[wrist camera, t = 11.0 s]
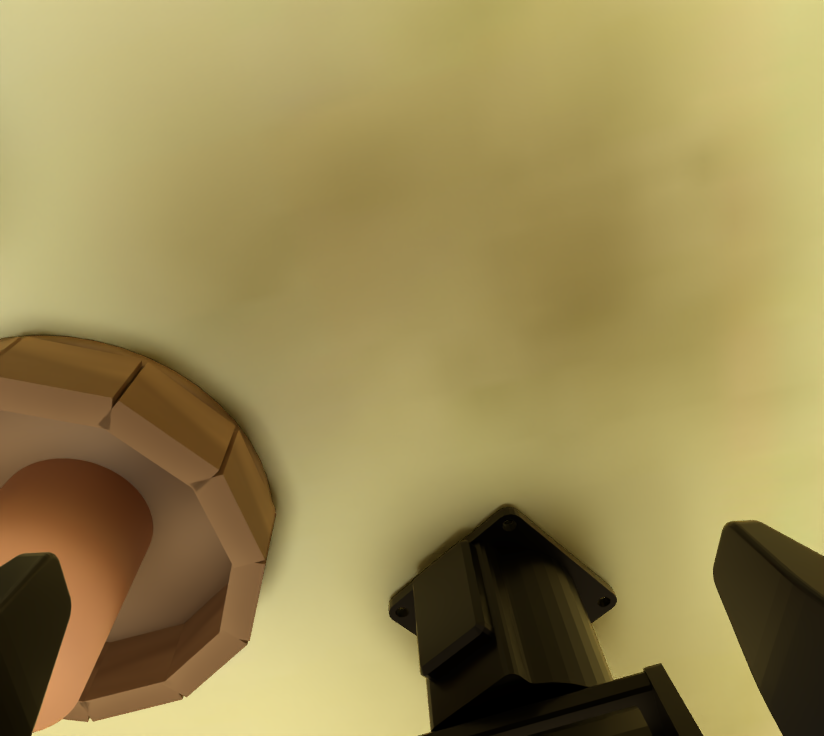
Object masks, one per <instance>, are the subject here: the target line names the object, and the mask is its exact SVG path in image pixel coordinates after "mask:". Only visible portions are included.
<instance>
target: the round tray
mask: <svg viewBox="0 0 824 736" xmlns="http://www.w3.org/2000/svg"><path fill="white" fill-rule="evenodd" d="M58 458H67V459H78V460H83V461H88V462H92V463H95V464H98V465H101V466H103V467H105V468H107V469H110V470H112V471H113V472H115V473H117V474H119V475H120V476H122V477H123V478H124V479H126V480H127V481H128V482H129V483H131V484H132V485H133V486H134V487H135V488H136V489H137V490H138V492H139V493H140V494H141V495H142V497H143V498H144V500H145V501H146V503H147V505H148V507H149V509H150V512H151V516H152V520H153V535H152V540H151V543H150V545H149V548H148V550H147V552H146V554H145V556H144V559H143V561H142V563H141V565H140V567H139V570H138V572H137V574H136V576H135V578H134V580H133V583H132V585H131V587H130V589H129V591H128V594H127V596H126V598H125V600H124V602H123V605H122V607H121V609H120V611H119V613H118V615H117V618H116V620H115V622H114V624H113V626H112V629H111V631H110V633H109V635H108V637H107V640H106V642H105V644H104V646H103V648H102V650H101V653H100V655H99V657H98V659H97V661H96V664H95V666H94V668H93V670H92V672H91V675H90V677H89V679H88V681H87V683H86V685H85V688H84V690H83V692H82V694H81V696H80V699H79V701H78V702H77V704H76V705H75V707H74V708H73V709H72V711H71V712H70V713H69V714H68V715H67V716H65V717H64V718H63V719H66V720H76V721H85V722H88V720H89V718H91V719H92V721H97V720H101V719H105V718H109V717H113V716H117V715H121V714H125V713H129V712H133V711H137V710H141V709H146V708H150V707H154V706H158V705H162V704H166V703H170V702H174V701H178V700H182V699H183V696H185V697H187V696H189V695H190V694H191V693H192V692H193V691H194V690H196V689H197V688H198V687H199V686H200V685H201V684H202V683H204V682H205V681H206V680H207V679H208V678H209V677H210V676H212V675H213V674H214V673H215V672H216V671H217V670H219V669H220V668H221V667H222V666H223V665H224V664H225V663H227V662H228V661H229V660H230V659H231V658H232V657H233V656H235V655H236V654H237V653H238V652H239V651H240V650H242V649H243V648H244V647H245V646H246V645H247V644H248V641H250V636H251V631H252V627H253V622H254V617H255V612H256V608H257V603H258V598H259V593H260V588H261V584H262V579H263V574H264V569H265V565H266V560H267V555H268V550H269V545H270V541H271V536H272V531H273V526H274V521H275V517H276V513H275V510H276V509H275V507H274V505H273V503H272V498H271V493H270V488H269V483H268V479H267V477H266V474H265V471H264V469H263V466H262V463H261V461H260V459H259V457H258V455H257V453H256V451H255V450H254V448H253V446H252V444H251V442H250V441H249V439H248V438H247V436H246V435H245V434H244V432H243V431H242V430H241V428H240V427H239V426H238V424H237V423H236V421H235V420H234V419H233V418H232V417H231V416H230V415H229V414H228V413H227V412H226V411H225V410H224V409H223V408H222V407H221V406H220V405H219V404H218V403H217V402H216V401H215V400H214V399H213V398H211V397H210V396H209V395H208V394H207V393H205V392H204V391H203V390H202V389H200V388H199V387H198V386H197V385H195V384H194V383H192V382H191V381H189V380H188V379H186V378H184V377H183V376H181V375H180V374H178V373H177V372H175V371H174V370H172V369H170V368H168V367H166V366H164V365H162V364H160V363H158V362H156V361H154V360H152V359H150V358H148V357H145V356H142V355H140V354H137V353H134V352H132V351H129V350H126V349H124V348H121V347H117V346H113V345H109V344H105V343H101V342H97V341H94V340H87V339H80V338H73V337H66V336H43V335H32V336H21V337H9V338H3V339H0V489H1V488H2V487H3V485H4V484H5V483H6V482H7V481H8V480H9V479H10V478H11V477H12V476H13V475H14V474H15V473H16V472H18V471H19V470H21V469H22V468H24V467H26V466H28V465H30V464H33V463H36V462H39V461H43V460H48V459H58Z"/></svg>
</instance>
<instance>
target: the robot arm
mask: <svg viewBox="0 0 824 736" xmlns="http://www.w3.org/2000/svg"><path fill="white" fill-rule="evenodd" d="M507 520H513V522H512V523H510V524H504V522H505V521H507ZM713 577H714V582H715V585H716V588H717V590H718V593H719V595H720V598H721V600H722V603H723V605H724V607H725V610H726V612H727V615H728V617H729V620H730V622H731V624H732V627H733V629H734V632H735V634H736V637H737V639H738V641H739V644H740V646H741V649H742V651H743V654H744V656H745V658H746V661H747V663H748V666H749V668H750V671H751V673H752V675H753V677H754V680H755V682H756V684H757V686H758V689H759V691H760V693H761V695H762V697H763V699H764V701H765V703H766V705H767V707H768V709H769V710H770V712H771V714H772V716H773V718H774V720H775V722H776V724H777V725H778V727H779V729H780V731H781V733H782V735H783V736H824V556H822V555H820V554H819V553H817V552H815V551H813V550H811V549H809V548H808V547H806V546H804V545H802V544H800V543H798V542H797V541H795V540H793V539H791V538H789V537H787V536H786V535H784V534H782V533H780V532H778V531H776V530H774V529H773V528H771V527H769V526H767V525H765V524H763V523H762V522H759V521H755V520H747V521H731V522H728V523H727V524H726V525H725V526H724V527H723V530H722V533H721V537H720V541H719V546H718V550H717V554H716V558H715V562H714V567H713ZM602 597H605V598H603V599H600V598H602ZM616 602H617V598H616V595H615V593H614V591H613V589H612V588H611V587H610V586H609V585H608V584H607V583H605V582H604V581H603V580H602V579H601V578H599V577H598V576H597V575H596V574H594V573H593V572H592V571H591V570H590V569H588V568H587V567H586V566H585V565H584V564H582V563H581V562H580V561H579V560H578V559H576V558H575V557H574V556H573V555H571V554H570V553H569V552H568V551H567V550H565V549H564V548H563V547H562V546H561V545H559V544H558V543H557V542H556V541H554V540H553V539H552V538H551V537H550V536H548V535H547V534H546V533H545V532H544V531H542V530H541V529H540V528H539V527H538V526H536V525H535V524H534V523H533V522H531V521H530V520H529V519H528V518H527V517H525V516H524V515H523V514H522V513H521V512H519V511H518V510H517V509H515V508H511V507H506V508H502V509H501V510H499V511H497V512H496V513H495V514H494V515H493V516H491V517H490V518H489V519H488V520H486V521H485V522H484V523H483V524H482V525H480V526H479V527H478V528H477V529H476V530H474V531H473V532H472V533H471V534H469V535H468V536H467V537H466V538H465V539H463V540H462V541H460V542H458V543H457V544H456V545H454V546H453V547H452V548H451V549H449V550H448V551H447V552H446V553H445V554H443V555H442V556H441V557H440V558H439V559H437V560H436V561H435V562H434V563H432V564H431V565H430V566H429V567H428V568H426V569H425V570H424V571H423V572H421V573H420V574H419V575H418V576H417V577H415V578H414V580H413V581H412V582H411V583H410V584H409V585H407V586H406V587H405V588H404V589H403V590H401V591H400V592H399V593H398V594H396V595H395V596H394V597H393V598H392V599H391V600H390V601H389V615H390V617H391V618H392V619H393V620H394V621H395V622H397V623H398V624H400V625H401V626H403V627H404V628H406V629H407V630H409V631H410V632H412V633H413V634H415V635H416V636H417V642H418V654H419V666H420V673H421V675H422V676H424V677H425V678H426V685H427V696H428V706H429V717H430V728H431V732H429V733H426V734H422V735H419V736H703V734H702V733H701V731H700V729H699V727H698V726H697V724H696V722H695V721H694V719H693V717H692V715H691V714H690V712H689V710H688V709H687V707H686V705H685V703H684V702H683V700H682V698H681V697H680V695H679V693H678V691H677V690H676V688H675V686H674V685H673V683H672V681H671V679H670V678H669V676H668V674H667V673H666V671H665V669H664V667H663V666H662V664H661V663H660V664H656V665H653V666H649V667H646V668H643V670H644V672H641V673H637V674H634V675H630V676H626V677H623V678H619V679H616V680H613V678H612V675H611V673H610V670H609V668H608V665H607V663H606V660H605V658H604V655H603V653H602V650H601V647H600V645H599V642H598V640H597V637H596V635H595V632H594V630H593V627H592V625H591V623H592V622H594V621H595V620H597V619H598V618H599V617H601V616H602V615H603V614H605V613H606V612H608V611H609V610H610V609H612V608H613V607H614V606H615V604H616ZM71 606H72V605H71V597H70V594H69V590H68V587H67V584H66V581H65V577H64V574H63V571H62V568H61V564H60V561H59V559H58V557H57V556H56V555H55V554H53V553H50V552H40V553H24V554H20V555H18V556H16V557H14V558H13V559H11V560H10V561H8V562H7V563H5V564H3V565H2V566H0V736H31V735H32V732H33V729H34V727H35V724H36V721H37V718H38V715H39V712H40V709H41V706H42V703H43V700H44V697H45V694H46V691H47V688H48V684H49V681H50V678H51V675H52V672H53V669H54V666H55V663H56V660H57V657H58V653H59V650H60V647H61V644H62V641H63V638H64V635H65V632H66V629H67V625H68V622H69V619H70V615H71ZM402 607H404V608H405V609H398V608H402Z"/></svg>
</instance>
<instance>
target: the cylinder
mask: <svg viewBox="0 0 824 736" xmlns="http://www.w3.org/2000/svg"><path fill="white" fill-rule="evenodd" d="M152 535H153V520H152V516H151V512H150V509H149V507H148V505H147V503H146V501H145V500H144V498H143V497H142V495H141V494H140V493H139V492H138V490H137V489H136V488H135V487H134V486H133V485H132V484H131V483H129V482H128V481H127V480H126V479H124V478H123V477H122V476H120V475H119V474H117V473H115V472H113V471H112V470H110V469H107V468H105V467H103V466H101V465H98V464H95V463H92V462H88V461H83V460H78V459H67V458H58V459H48V460H43V461H39V462H36V463H33V464H30V465H28V466H26V467H24V468H22V469H21V470H19V471H18V472H16V473H15V474H14V475H13V476H12V477H11V478H10V479H9V480H8V481H7V482H6V483H5V484H4V485H3V487H2V488H1V489H0V566H2V565H3V564H5V563H7V562H8V561H10V560H11V559H13V558H14V557H16V556H18V555H20V554H24V553H40V552H50V553H53V554H55V555H56V556H57V557H58V559H59V561H60V564H61V568H62V571H63V574H64V577H65V581H66V584H67V587H68V590H69V594H70V597H71V605H72V606H71V615H70V619H69V622H68V625H67V629H66V632H65V635H64V638H63V641H62V644H61V647H60V650H59V653H58V657H57V660H56V663H55V666H54V669H53V672H52V675H51V678H50V681H49V684H48V688H47V691H46V694H45V697H44V700H43V703H42V706H41V709H40V712H39V715H38V718H37V721H36V724H35V727H34V729H33V732H36V731H40V730H43V729H45V728H47V727H50V726H52V725H54V724H55V723H57V722H59V721H60V720H62V719H63V718H64V717H65V716H67V715H68V714H69V713H70V712H71V711H72V709H73V708H74V707H75V705H76V704H77V702H78V701H79V699H80V696H81V694H82V692H83V690H84V688H85V685H86V683H87V681H88V679H89V677H90V675H91V672H92V670H93V668H94V666H95V664H96V661H97V659H98V657H99V655H100V653H101V650H102V648H103V646H104V644H105V642H106V640H107V637H108V635H109V633H110V631H111V629H112V626H113V624H114V622H115V620H116V618H117V615H118V613H119V611H120V609H121V607H122V605H123V602H124V600H125V598H126V596H127V594H128V591H129V589H130V587H131V585H132V583H133V580H134V578H135V576H136V574H137V572H138V570H139V567H140V565H141V563H142V561H143V559H144V556H145V554H146V552H147V550H148V548H149V545H150V543H151V540H152ZM33 732H32V733H33Z"/></svg>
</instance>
